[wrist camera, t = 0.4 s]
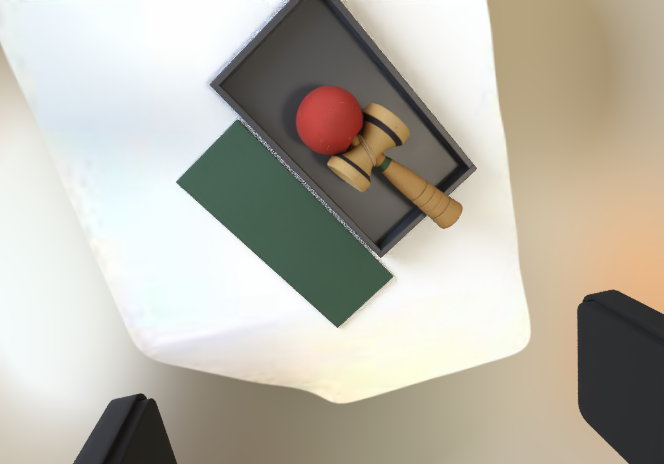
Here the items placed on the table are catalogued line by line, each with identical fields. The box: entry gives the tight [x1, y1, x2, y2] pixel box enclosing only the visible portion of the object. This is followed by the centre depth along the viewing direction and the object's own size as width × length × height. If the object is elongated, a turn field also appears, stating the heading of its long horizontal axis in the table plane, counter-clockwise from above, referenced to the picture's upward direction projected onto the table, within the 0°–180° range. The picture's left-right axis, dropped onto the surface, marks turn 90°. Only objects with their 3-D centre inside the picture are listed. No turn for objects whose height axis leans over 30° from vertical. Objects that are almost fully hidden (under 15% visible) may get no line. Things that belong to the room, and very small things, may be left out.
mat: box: [176, 120, 393, 328], centre depth 44 cm, size 23×8×1 cm, turn 43°
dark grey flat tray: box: [210, 0, 477, 258], centre depth 41 cm, size 23×13×2 cm, turn 43°
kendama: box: [296, 86, 462, 229], centre depth 39 cm, size 8×6×18 cm
